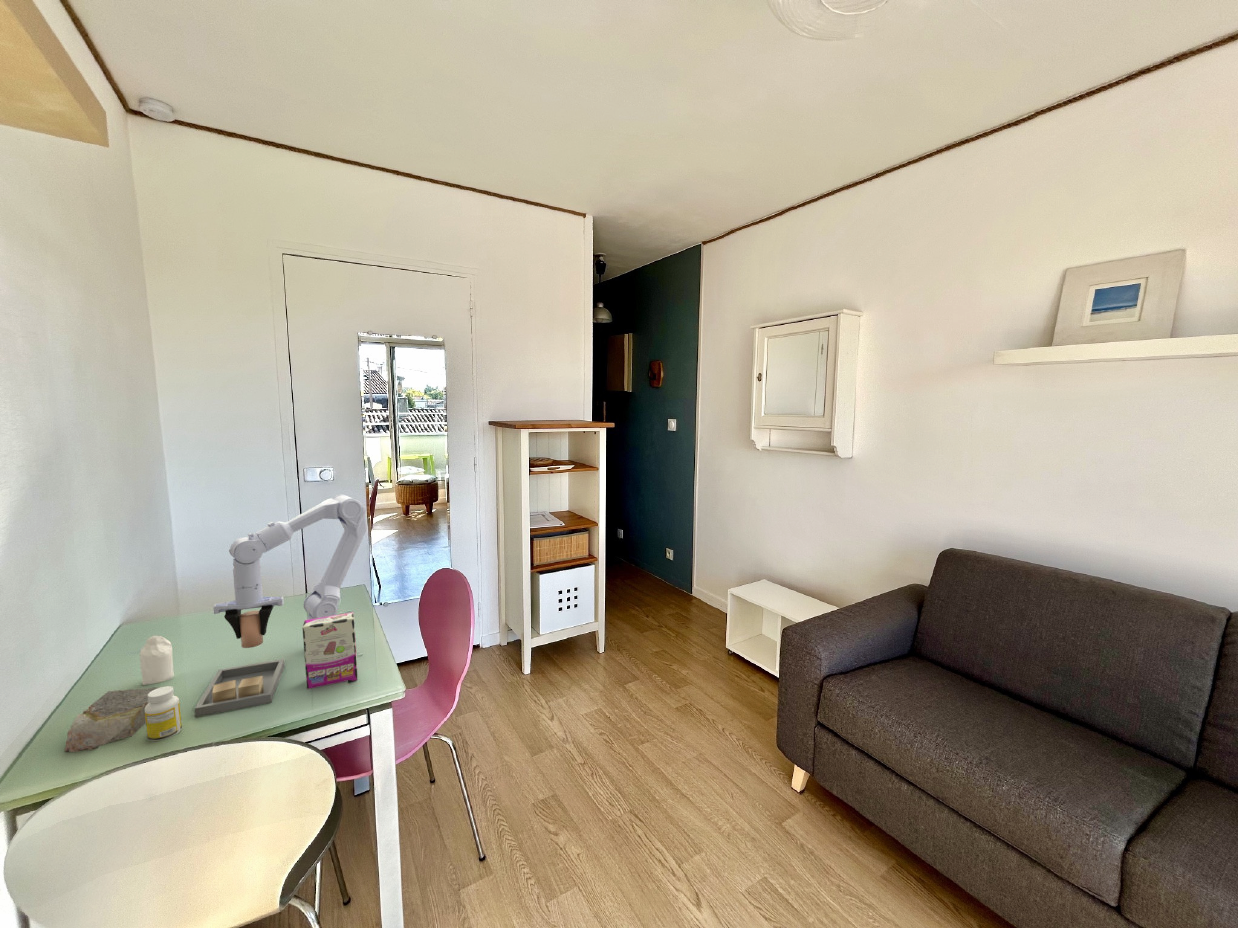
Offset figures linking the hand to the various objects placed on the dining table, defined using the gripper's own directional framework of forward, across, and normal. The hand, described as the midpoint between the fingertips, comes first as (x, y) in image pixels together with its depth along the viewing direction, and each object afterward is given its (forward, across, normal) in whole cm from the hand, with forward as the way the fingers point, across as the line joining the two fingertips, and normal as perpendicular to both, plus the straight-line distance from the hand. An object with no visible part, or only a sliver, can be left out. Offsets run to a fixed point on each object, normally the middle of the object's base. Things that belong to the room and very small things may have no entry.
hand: (251, 635), depth 132 cm
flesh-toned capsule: (+2, 0, 0) cm, 2 cm away
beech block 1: (+9, +2, +16) cm, 19 cm away
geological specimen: (+10, +21, +17) cm, 28 cm away
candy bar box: (+10, -19, +14) cm, 26 cm away
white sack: (+10, +20, -3) cm, 23 cm away
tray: (+9, 0, +11) cm, 15 cm away
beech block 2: (+9, -3, +16) cm, 19 cm away
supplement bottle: (+10, +10, +24) cm, 28 cm away
